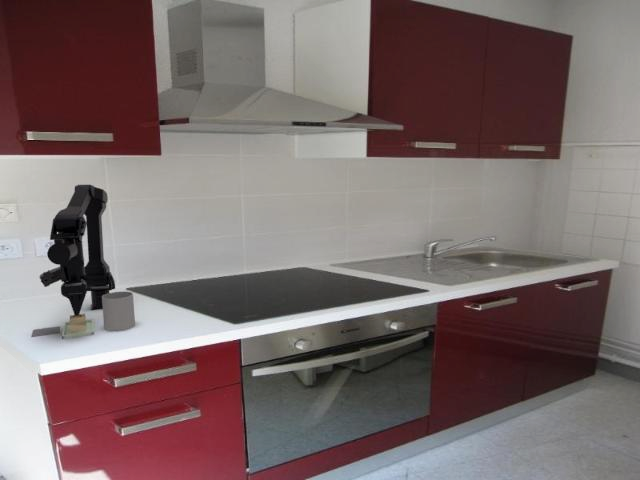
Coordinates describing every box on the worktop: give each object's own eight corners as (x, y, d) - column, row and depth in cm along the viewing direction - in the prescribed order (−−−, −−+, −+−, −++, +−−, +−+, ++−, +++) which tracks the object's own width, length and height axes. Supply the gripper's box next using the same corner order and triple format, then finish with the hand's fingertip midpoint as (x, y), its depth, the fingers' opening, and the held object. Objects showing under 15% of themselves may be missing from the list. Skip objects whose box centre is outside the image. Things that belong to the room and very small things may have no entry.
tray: (64, 326, 149) (64, 322, 149) (93, 322, 152) (93, 318, 152) (62, 340, 137) (61, 336, 137) (94, 335, 140) (93, 331, 140)
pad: (33, 330, 145) (33, 329, 145) (60, 327, 148) (60, 326, 148) (31, 338, 139) (30, 337, 139) (59, 334, 142) (59, 333, 142)
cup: (126, 321, 153) (123, 290, 151) (140, 327, 148) (138, 294, 146) (99, 329, 146) (96, 295, 145) (113, 334, 141) (110, 300, 140)
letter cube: (71, 328, 146) (70, 315, 145) (86, 326, 147) (85, 313, 147) (70, 332, 142) (69, 318, 141) (86, 330, 144) (85, 316, 143)
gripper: (42, 254, 146) (48, 306, 149) (36, 266, 130) (42, 324, 132) (84, 251, 151) (89, 301, 153) (84, 262, 134) (88, 318, 137)
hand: (77, 310), depth 144 cm, fingers open, 9 cm apart
